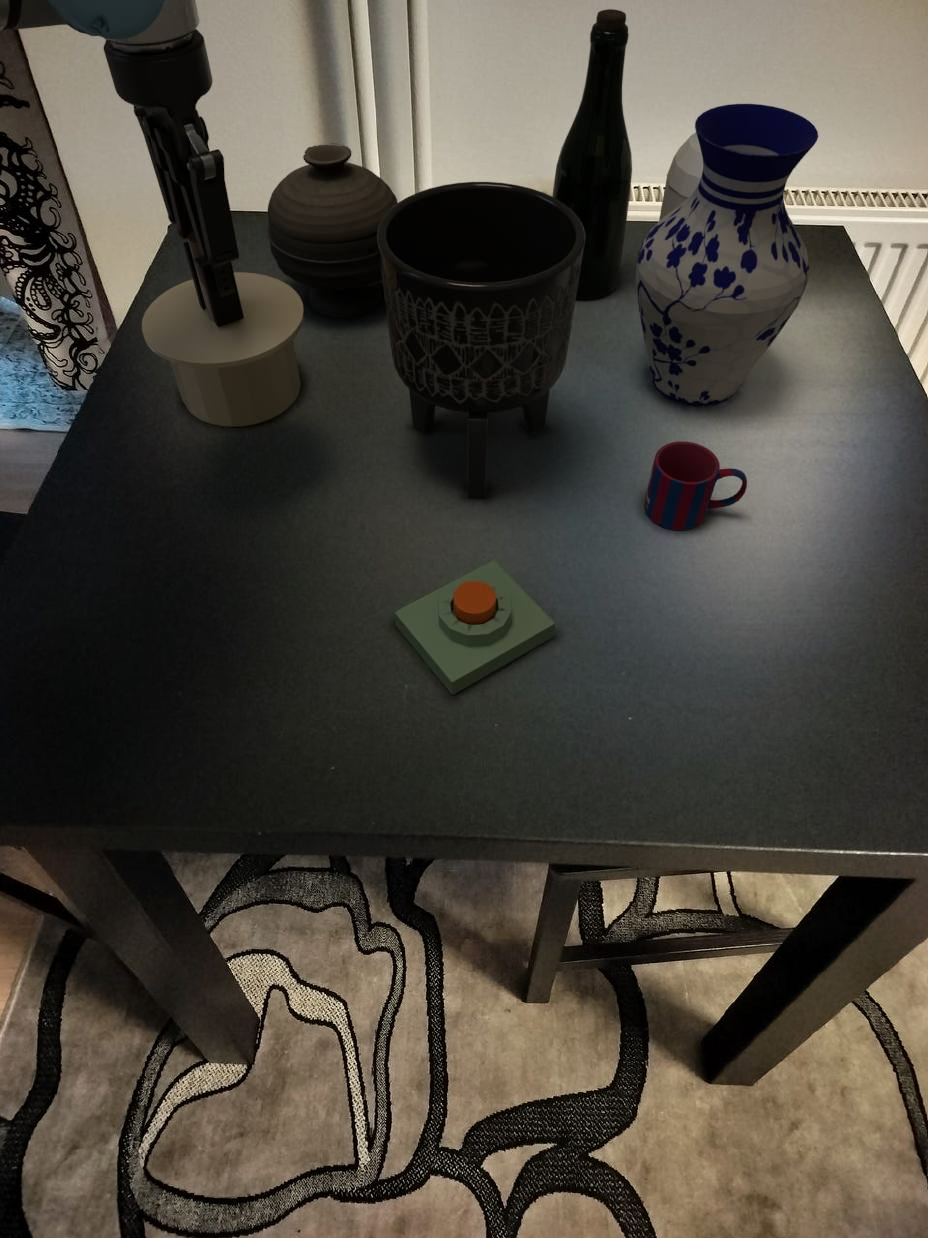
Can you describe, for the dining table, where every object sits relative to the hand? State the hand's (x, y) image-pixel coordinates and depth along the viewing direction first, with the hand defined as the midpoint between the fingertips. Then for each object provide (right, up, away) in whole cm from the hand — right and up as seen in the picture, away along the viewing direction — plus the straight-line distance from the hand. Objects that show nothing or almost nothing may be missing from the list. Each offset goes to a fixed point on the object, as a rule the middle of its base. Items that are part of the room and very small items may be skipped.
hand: (222, 311), depth 83 cm
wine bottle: (+40, +19, +40) cm, 60 cm away
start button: (+25, -29, -2) cm, 38 cm away
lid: (0, -1, +1) cm, 1 cm away
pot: (+7, +15, +38) cm, 41 cm away
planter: (+25, -10, +18) cm, 32 cm away
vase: (+53, 0, +26) cm, 59 cm away
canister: (-4, -1, +25) cm, 25 cm away
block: (+25, -31, +1) cm, 40 cm away
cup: (+48, -18, +11) cm, 53 cm away
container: (+57, +20, +41) cm, 73 cm away
